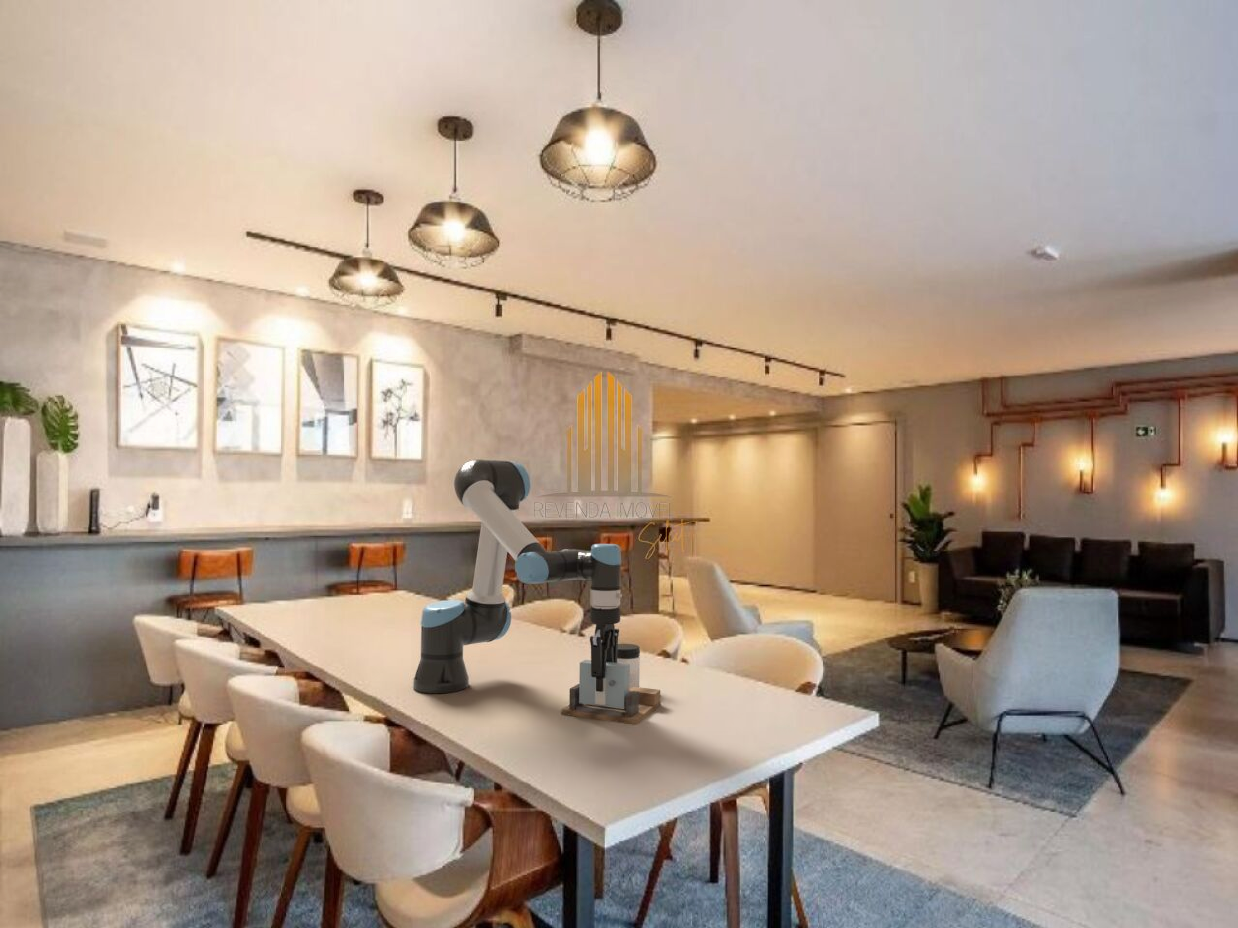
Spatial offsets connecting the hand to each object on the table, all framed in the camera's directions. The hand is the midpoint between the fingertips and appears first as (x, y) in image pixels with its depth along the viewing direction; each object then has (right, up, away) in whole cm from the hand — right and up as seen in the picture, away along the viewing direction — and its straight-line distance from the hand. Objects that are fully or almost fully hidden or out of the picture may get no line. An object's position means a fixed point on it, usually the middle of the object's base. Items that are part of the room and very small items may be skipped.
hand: (604, 701), depth 178 cm
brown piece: (+2, -4, +5) cm, 6 cm away
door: (0, -1, 0) cm, 1 cm away
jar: (+5, -5, +24) cm, 25 cm away
